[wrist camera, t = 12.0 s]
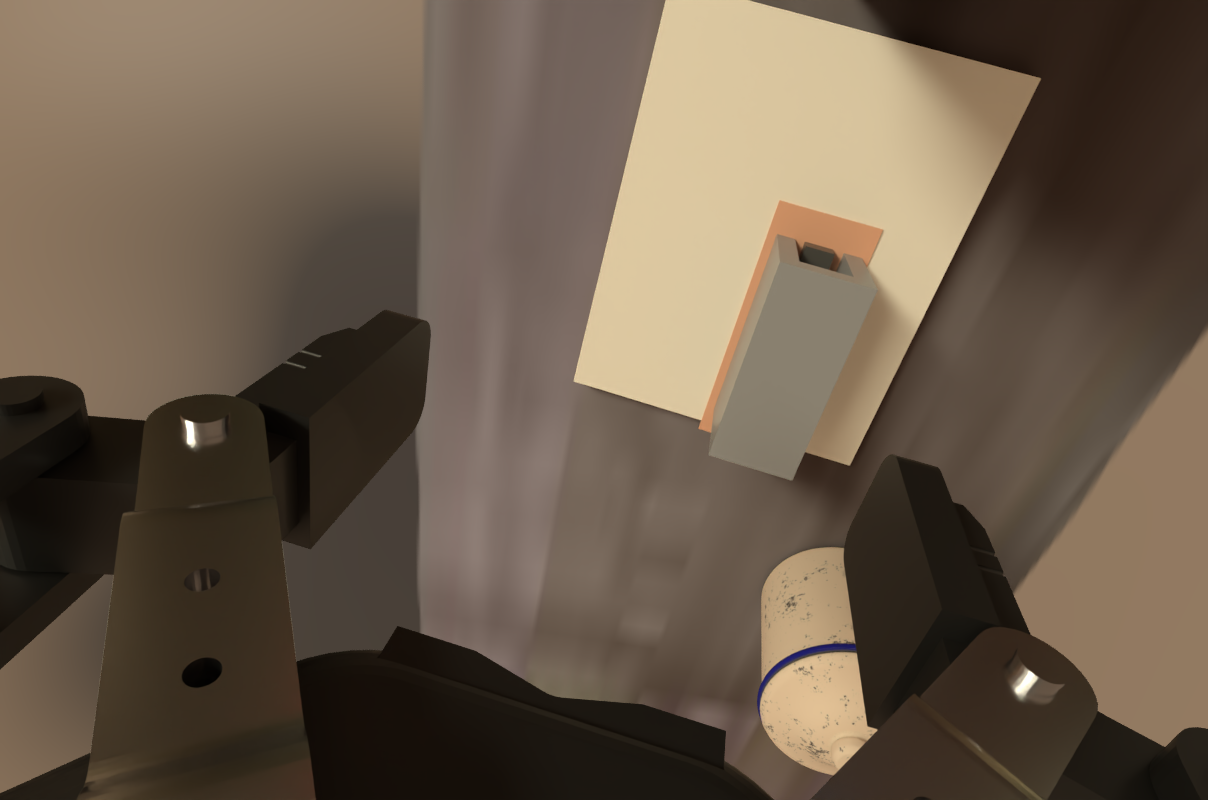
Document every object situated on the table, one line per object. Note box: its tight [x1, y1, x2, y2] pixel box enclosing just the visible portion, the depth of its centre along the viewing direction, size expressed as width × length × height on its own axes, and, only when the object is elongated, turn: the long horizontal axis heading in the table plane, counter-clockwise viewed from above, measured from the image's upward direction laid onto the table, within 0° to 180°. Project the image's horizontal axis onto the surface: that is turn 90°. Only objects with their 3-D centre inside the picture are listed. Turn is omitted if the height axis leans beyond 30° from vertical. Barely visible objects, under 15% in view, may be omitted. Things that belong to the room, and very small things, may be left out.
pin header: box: [799, 242, 835, 270], centre depth 36 cm, size 10×1×1 cm, turn 167°
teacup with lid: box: [757, 547, 877, 775], centre depth 38 cm, size 12×9×12 cm
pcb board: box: [574, 0, 1041, 466], centre depth 35 cm, size 20×16×1 cm
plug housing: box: [708, 234, 878, 481], centre depth 34 cm, size 10×4×5 cm, turn 167°
